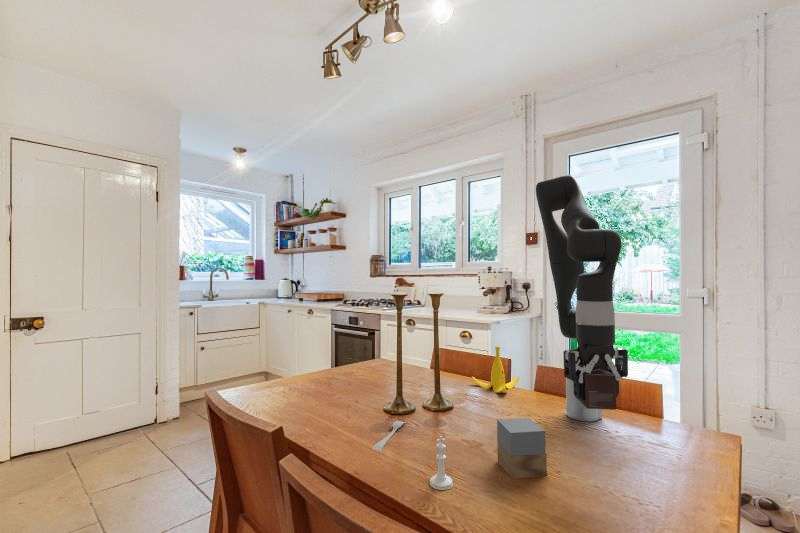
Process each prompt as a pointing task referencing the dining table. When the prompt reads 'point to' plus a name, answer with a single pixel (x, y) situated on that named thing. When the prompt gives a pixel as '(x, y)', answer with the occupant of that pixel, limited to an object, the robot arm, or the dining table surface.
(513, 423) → the tower top
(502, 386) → the banana peel
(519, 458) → the tower bottom
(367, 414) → the dining table surface
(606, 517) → the dining table surface
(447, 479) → the chess piece
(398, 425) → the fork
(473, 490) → the dining table surface
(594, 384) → the box
